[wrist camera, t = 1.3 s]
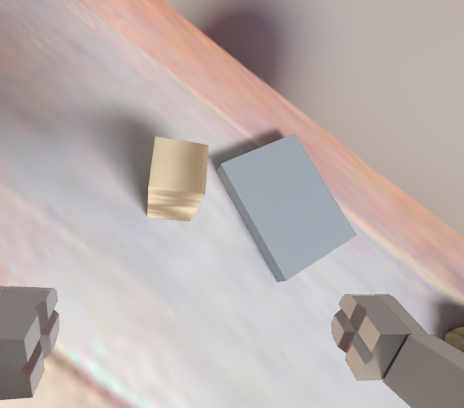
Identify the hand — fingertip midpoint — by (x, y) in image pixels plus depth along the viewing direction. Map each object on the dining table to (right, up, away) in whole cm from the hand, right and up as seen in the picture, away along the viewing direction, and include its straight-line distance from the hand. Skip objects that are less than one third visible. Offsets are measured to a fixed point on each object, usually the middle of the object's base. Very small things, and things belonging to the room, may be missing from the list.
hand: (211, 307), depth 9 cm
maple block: (-7, +4, +28) cm, 29 cm away
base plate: (+7, +3, +32) cm, 33 cm away
